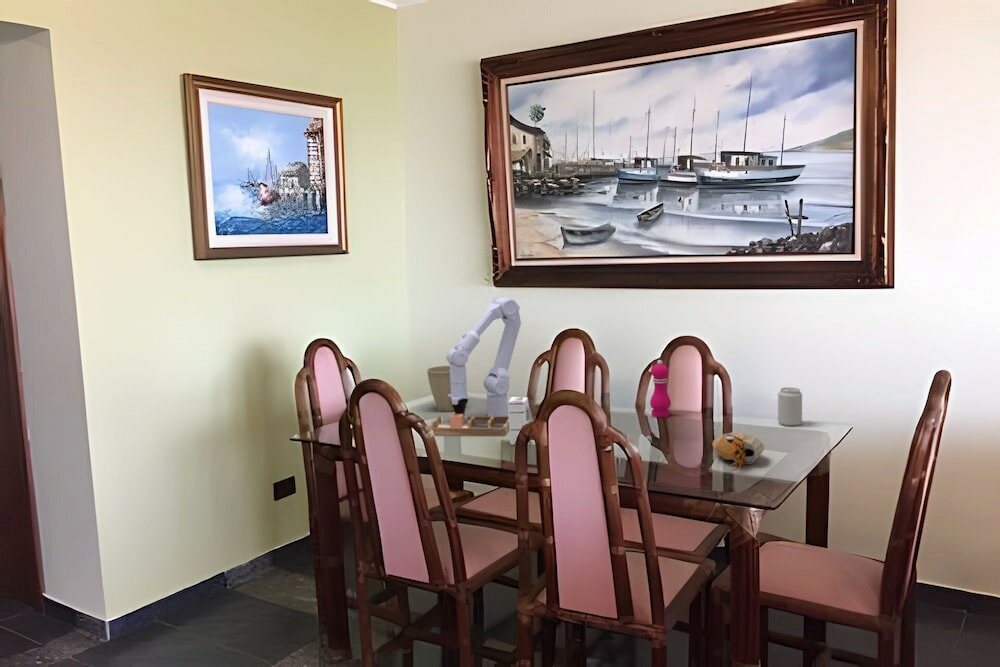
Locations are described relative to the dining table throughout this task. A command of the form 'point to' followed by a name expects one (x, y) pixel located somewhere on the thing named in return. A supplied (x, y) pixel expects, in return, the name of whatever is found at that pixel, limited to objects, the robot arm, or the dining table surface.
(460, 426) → the coral block
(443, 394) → the plant pot
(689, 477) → the dining table surface
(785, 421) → the can
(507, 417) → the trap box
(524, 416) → the syrup box
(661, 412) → the pepper mill
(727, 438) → the nautilus
